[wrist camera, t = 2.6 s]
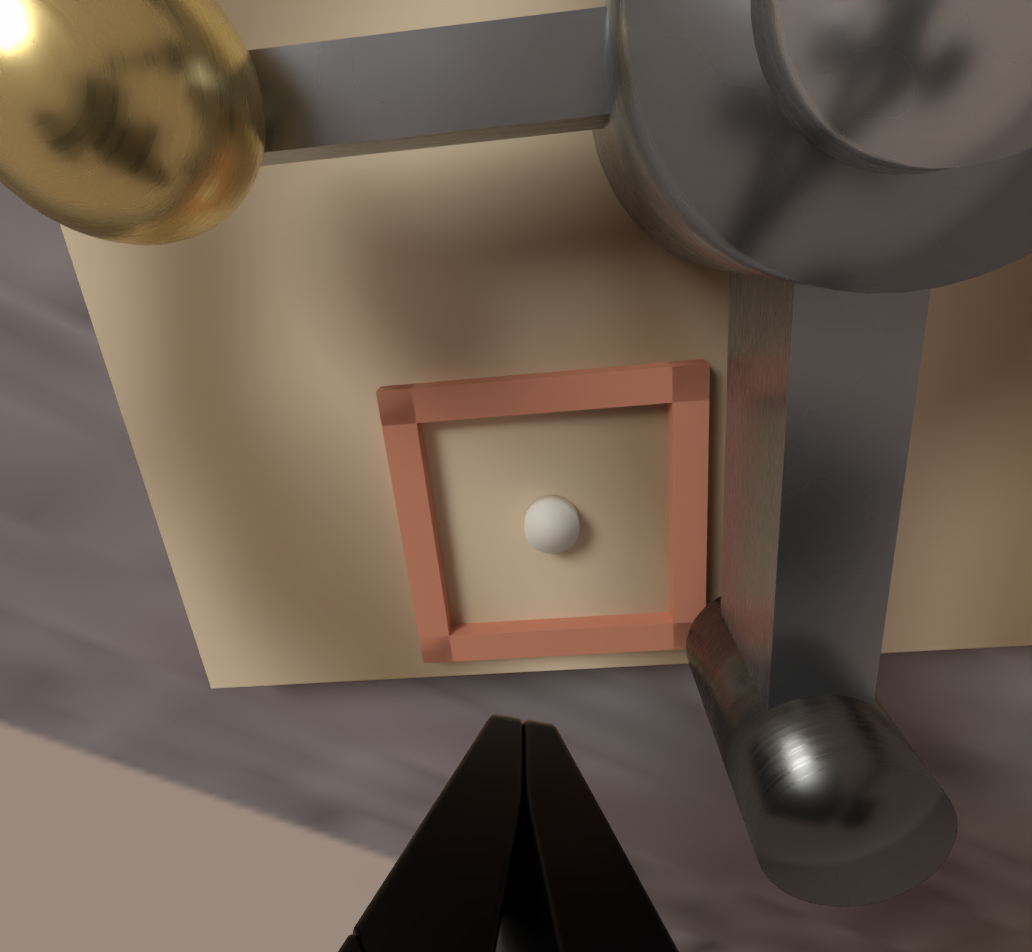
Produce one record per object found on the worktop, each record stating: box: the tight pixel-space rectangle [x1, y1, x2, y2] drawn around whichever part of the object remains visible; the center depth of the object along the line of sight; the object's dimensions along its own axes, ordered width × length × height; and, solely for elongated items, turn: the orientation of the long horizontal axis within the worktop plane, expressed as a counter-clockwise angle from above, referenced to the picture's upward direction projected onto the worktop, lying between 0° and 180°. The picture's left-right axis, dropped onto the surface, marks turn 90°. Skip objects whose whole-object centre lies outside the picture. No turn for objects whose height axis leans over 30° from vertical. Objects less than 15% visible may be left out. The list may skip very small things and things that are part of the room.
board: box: [60, 0, 1032, 688], centre depth 10 cm, size 21×20×1 cm
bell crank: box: [0, 0, 1032, 907], centre depth 7 cm, size 11×20×5 cm, turn 5°
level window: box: [376, 359, 710, 663], centre depth 11 cm, size 6×6×1 cm
